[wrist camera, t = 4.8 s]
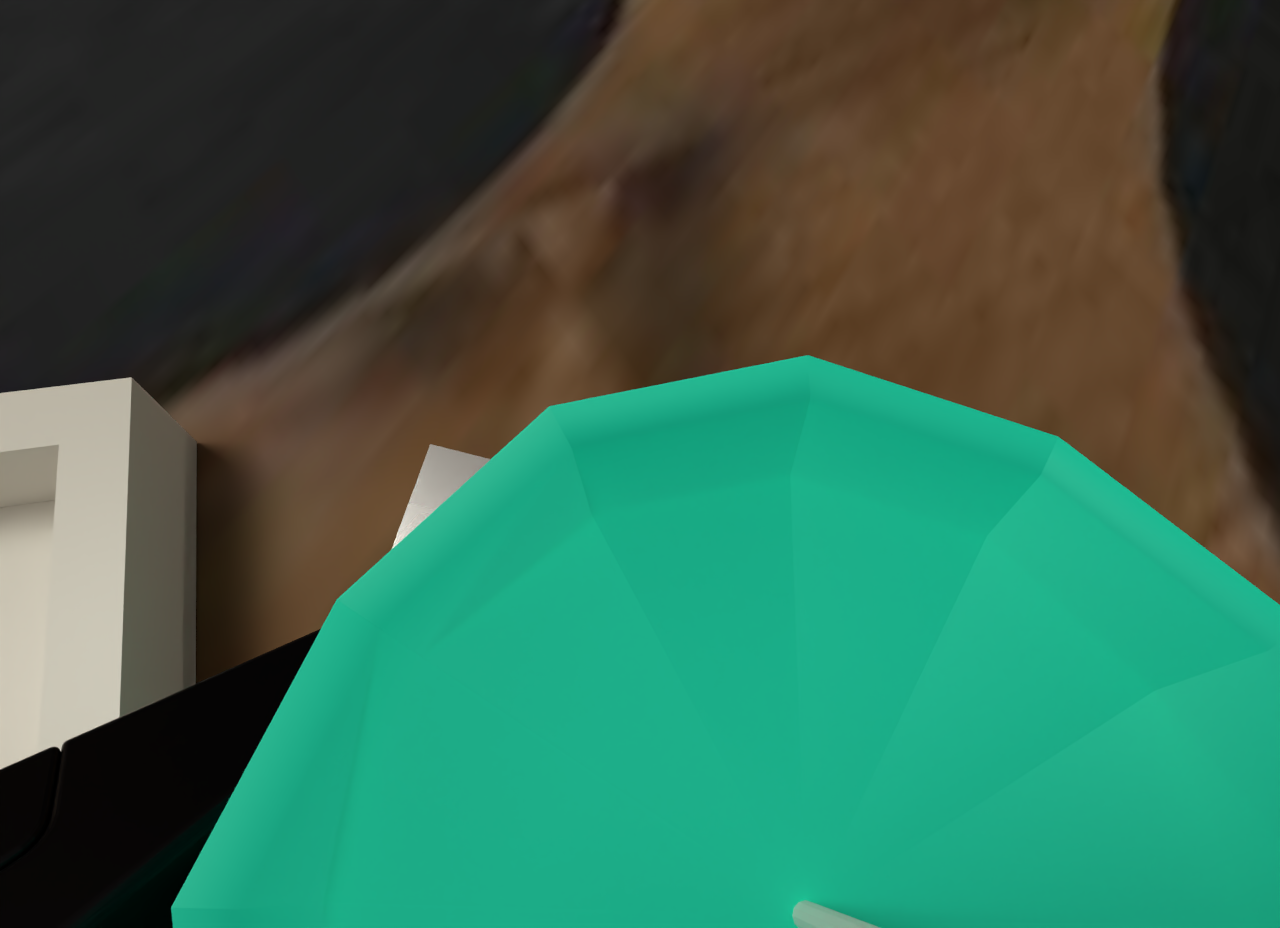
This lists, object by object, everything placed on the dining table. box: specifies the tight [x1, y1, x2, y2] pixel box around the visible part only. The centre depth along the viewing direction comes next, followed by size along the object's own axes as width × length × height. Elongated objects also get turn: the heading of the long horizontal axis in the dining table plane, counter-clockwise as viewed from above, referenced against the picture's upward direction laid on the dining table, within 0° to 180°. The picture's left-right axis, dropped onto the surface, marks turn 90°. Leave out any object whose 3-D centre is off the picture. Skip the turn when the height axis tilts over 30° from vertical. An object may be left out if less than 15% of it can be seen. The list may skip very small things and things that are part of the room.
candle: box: [171, 355, 1280, 928], centre depth 8 cm, size 6×6×12 cm
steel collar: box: [392, 444, 491, 549], centre depth 12 cm, size 10×10×2 cm
